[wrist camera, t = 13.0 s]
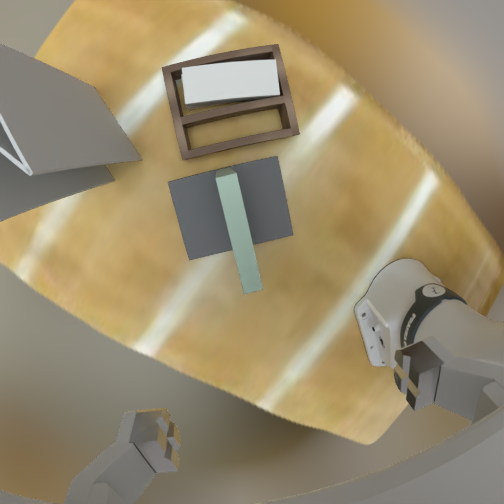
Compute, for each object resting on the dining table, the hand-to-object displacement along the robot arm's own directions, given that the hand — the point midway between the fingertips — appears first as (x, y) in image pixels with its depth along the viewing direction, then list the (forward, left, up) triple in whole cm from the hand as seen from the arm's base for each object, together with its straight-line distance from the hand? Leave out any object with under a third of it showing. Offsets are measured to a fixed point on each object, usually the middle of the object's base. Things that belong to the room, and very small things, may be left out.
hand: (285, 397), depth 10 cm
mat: (0, 0, -39) cm, 39 cm away
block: (0, 0, -38) cm, 38 cm away
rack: (+15, -3, -39) cm, 42 cm away
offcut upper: (+17, -3, -36) cm, 40 cm away
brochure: (+16, +16, -39) cm, 45 cm away
